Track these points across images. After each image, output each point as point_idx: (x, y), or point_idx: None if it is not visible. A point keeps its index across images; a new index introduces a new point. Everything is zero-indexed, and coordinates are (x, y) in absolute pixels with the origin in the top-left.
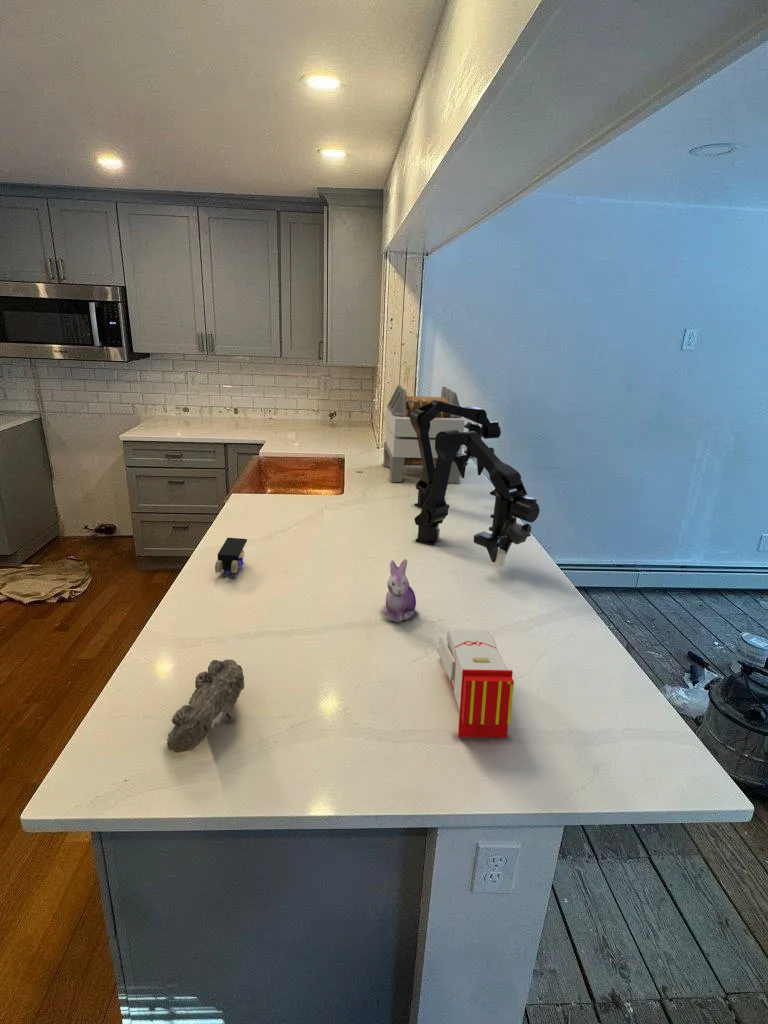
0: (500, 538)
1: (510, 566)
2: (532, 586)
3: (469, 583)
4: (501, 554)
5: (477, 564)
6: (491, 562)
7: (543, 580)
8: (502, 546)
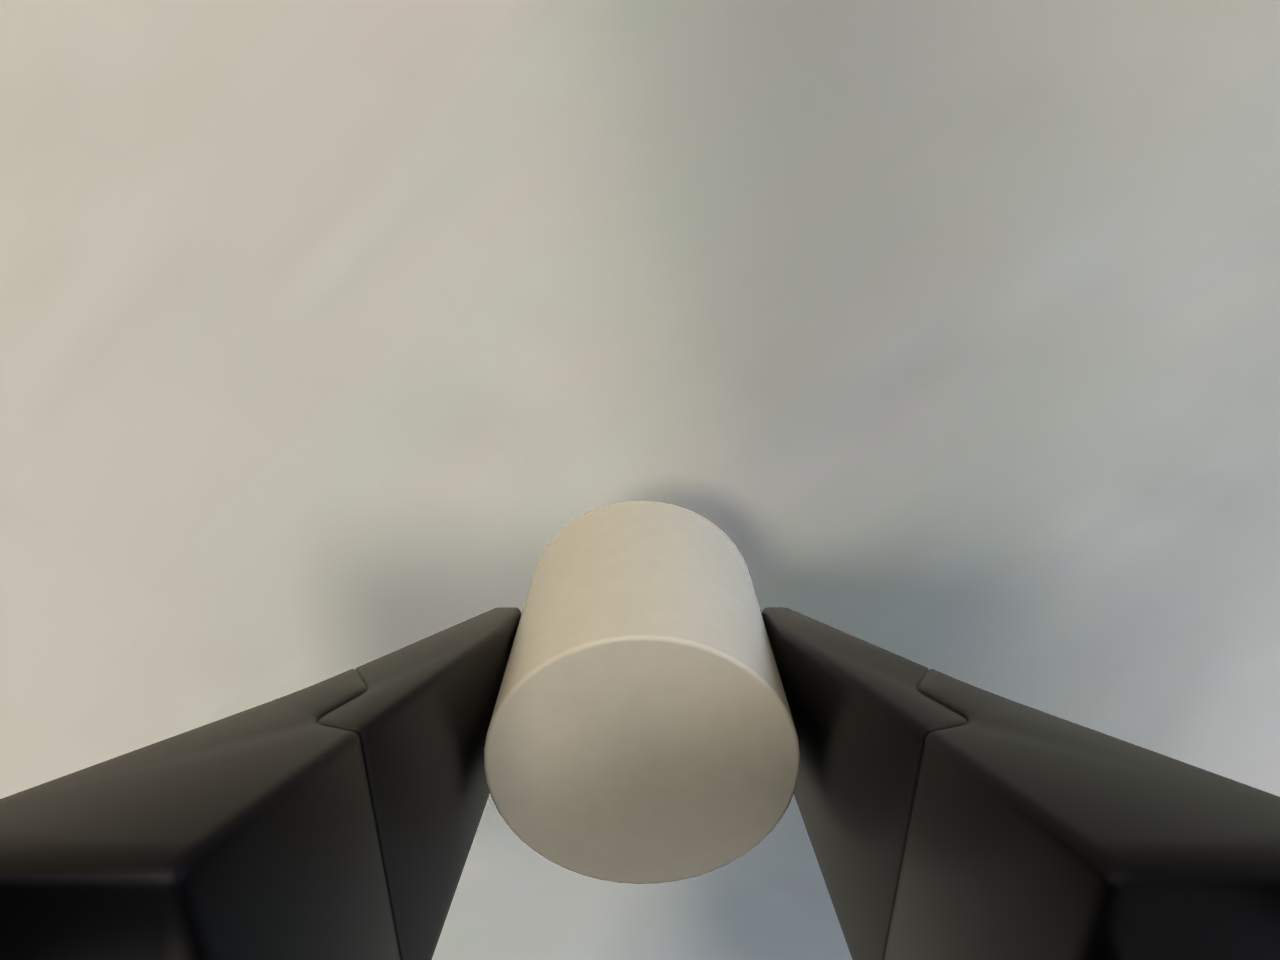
0: (979, 867)
1: (958, 531)
2: (679, 929)
3: (64, 540)
4: (572, 860)
5: (609, 176)
6: (538, 563)
7: None
8: (845, 785)
